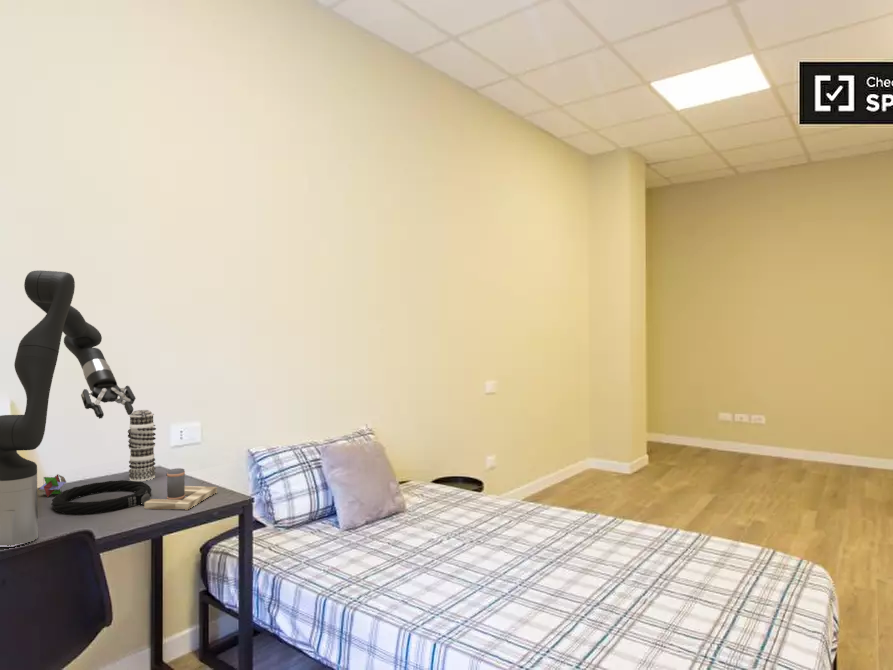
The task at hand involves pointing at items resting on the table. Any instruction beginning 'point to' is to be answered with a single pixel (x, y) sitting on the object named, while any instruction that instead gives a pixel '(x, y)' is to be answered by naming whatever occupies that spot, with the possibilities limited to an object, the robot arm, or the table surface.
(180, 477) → the grey banded cylinder
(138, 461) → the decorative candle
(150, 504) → the wooden u-shaped frame
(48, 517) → the table surface
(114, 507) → the cable lock
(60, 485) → the geometric puzzle
